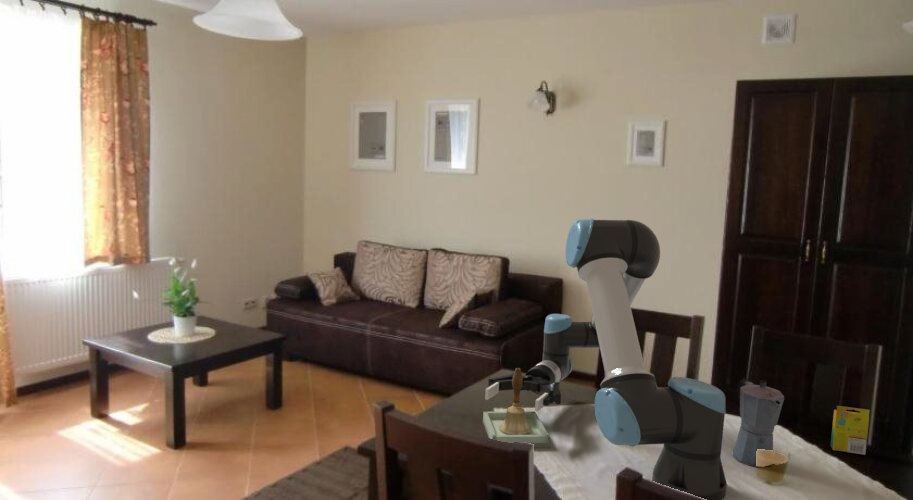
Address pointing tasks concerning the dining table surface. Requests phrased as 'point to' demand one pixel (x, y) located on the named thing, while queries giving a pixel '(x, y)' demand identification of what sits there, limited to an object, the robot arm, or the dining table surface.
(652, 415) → the robot arm
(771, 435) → the moka pot
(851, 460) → the dining table surface
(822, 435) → the dining table surface
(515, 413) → the hand bell
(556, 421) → the dining table surface
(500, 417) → the tray
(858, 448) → the crayon box
